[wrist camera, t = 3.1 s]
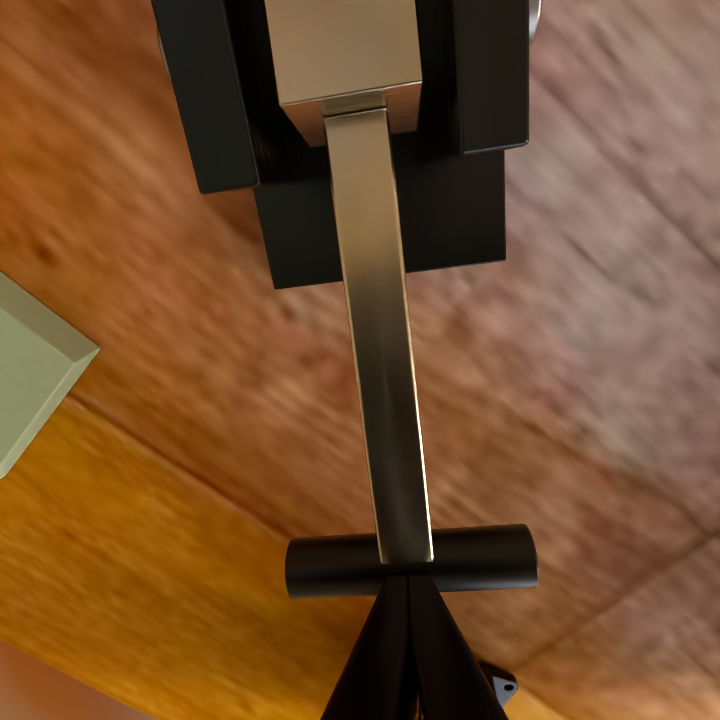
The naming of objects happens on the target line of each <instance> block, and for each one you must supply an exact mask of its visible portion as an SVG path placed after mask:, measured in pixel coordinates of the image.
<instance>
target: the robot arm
mask: <svg viewBox="0 0 720 720" xmlns="http://www.w3.org/2000/svg"><path fill="white" fill-rule="evenodd" d="M517 689H518V685H517V681H516V677H515V676H514V675H512V674H509V673H506V672H503V671H499V670H496V669H493V668H490V667H487V666H483V665H480V664H478V663H477V661H476V659H475V657H474V655H473V653H472V652H471V650H470V648H469V646H468V644H467V642H466V641H465V639H464V637H463V635H462V633H461V631H460V630H459V628H458V626H457V624H456V622H455V620H454V619H453V617H452V615H451V613H450V611H449V609H448V608H447V606H446V604H445V602H444V600H443V598H442V597H441V595H440V593H439V591H438V589H437V587H436V586H435V584H434V582H433V580H432V578H431V577H430V575H429V574H426V573H424V574H411V575H409V577H407V576H406V575H389V576H387V577H386V579H385V581H384V583H383V585H382V587H381V589H380V592H379V594H378V596H377V598H376V600H375V602H374V605H373V607H372V609H371V611H370V613H369V615H368V618H367V620H366V622H365V624H364V626H363V628H362V630H361V633H360V635H359V637H358V639H357V641H356V643H355V646H354V648H353V650H352V652H351V654H350V656H349V659H348V661H347V663H346V665H345V667H344V669H343V671H342V674H341V676H340V678H339V680H338V682H337V684H336V687H335V689H334V691H333V693H332V695H331V697H330V700H329V702H328V704H327V706H326V708H325V710H324V712H323V715H322V717H321V719H320V720H509V719H508V717H507V716H506V714H505V712H504V710H503V707H504V705H505V704H506V703H507V702H508V700H509V699H510V698H511V697H512V696H513V694H514V693H515V692H516V691H517Z"/></svg>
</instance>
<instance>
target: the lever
mask: <svg viewBox="0 0 720 720" xmlns="http://www.w3.org/2000/svg"><path fill="white" fill-rule="evenodd" d="M263 6H264V12H265V19H266V26H267V33H268V40H269V47H270V54H271V60H272V67H273V74H274V81H275V88H276V95H277V102H278V106H279V107H280V109H281V110H282V111H283V113H284V114H285V115H286V117H287V118H288V119H289V121H290V122H291V123H292V125H293V126H294V127H295V129H296V130H297V131H298V133H299V134H300V135H301V137H302V138H303V139H304V141H305V142H306V143H307V145H308V146H309V147H317V146H324V145H326V152H327V159H328V167H329V175H330V183H331V190H332V198H333V206H334V214H335V221H336V229H337V237H338V244H339V252H340V260H341V268H342V275H343V283H344V291H345V299H346V306H347V314H348V322H349V330H350V337H351V345H352V353H353V361H354V368H355V376H356V384H357V392H358V399H359V407H360V415H361V422H362V430H363V438H364V446H365V453H366V461H367V469H368V477H369V484H370V492H371V500H372V508H373V515H374V523H375V531H376V533H364V534H348V535H332V536H316V537H300V538H293V539H292V540H291V541H290V542H289V545H288V548H287V553H286V559H285V580H286V587H287V591H288V594H289V596H290V598H292V599H309V598H330V597H351V596H373V595H378V594H379V592H380V589H381V587H382V585H383V583H384V581H385V579H386V577H387V576H389V575H406V576H407V577H409V575H411V574H424V573H426V574H429V575H430V577H431V578H432V580H433V582H434V584H435V586H436V587H437V589H438V591H439V592H458V591H479V590H500V589H521V588H536V587H537V586H538V584H539V565H538V558H537V553H536V548H535V544H534V541H533V538H532V535H531V532H530V530H529V528H528V527H527V525H525V524H508V525H492V526H476V527H460V528H444V529H432V527H431V517H430V508H429V498H428V488H427V479H426V469H425V459H424V450H423V440H422V430H421V421H420V411H419V401H418V391H417V382H416V372H415V362H414V353H413V343H412V333H411V324H410V314H409V304H408V295H407V285H406V275H405V265H404V256H403V246H402V236H401V227H400V217H399V207H398V198H397V188H396V178H395V169H394V159H393V149H392V140H391V135H393V134H399V133H405V132H411V131H416V130H417V129H418V123H419V115H420V107H421V99H422V91H423V83H424V74H423V62H422V51H421V40H420V29H419V17H418V6H417V0H263Z"/></svg>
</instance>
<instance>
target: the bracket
mask: <svg viewBox="0 0 720 720" xmlns="http://www.w3.org/2000/svg"><path fill="white" fill-rule="evenodd" d="M151 3H152V7H153V11H154V15H155V19H156V23H157V37H158V43H159V48H160V52H161V56H162V59H163V63H164V66H165V68H166V71H167V74H168V76H169V78H170V80H171V83H172V85H173V89H174V93H175V97H176V101H177V105H178V109H179V113H180V117H181V121H182V125H183V128H184V132H185V136H186V140H187V144H188V148H189V152H190V156H191V160H192V164H193V168H194V171H195V175H196V179H197V183H198V187H199V191H200V193H201V194H204V195H206V194H215V193H224V192H233V191H242V190H251V189H253V191H254V196H255V201H256V206H257V210H258V215H259V220H260V224H261V229H262V234H263V238H264V243H265V248H266V252H267V257H268V262H269V266H270V271H271V276H272V281H273V285H274V289H284V288H292V287H300V286H308V285H316V284H324V283H332V282H340V281H343V275H342V268H341V260H340V252H339V244H338V237H337V229H336V221H335V214H334V206H333V198H332V190H331V183H330V175H329V167H328V159H327V152H326V145H324V146H317V147H309V146H308V145H307V143H306V142H305V141H304V139H303V138H302V137H301V135H300V134H299V133H298V131H297V130H296V129H295V127H294V126H293V125H292V123H291V122H290V121H289V119H288V118H287V117H286V115H285V114H284V113H283V111H282V110H281V109H280V107H279V106H278V102H277V95H276V88H275V81H274V74H273V67H272V60H271V54H270V47H269V40H268V33H267V26H266V19H265V12H264V6H263V0H151ZM417 6H418V17H419V29H420V40H421V51H422V62H423V74H424V83H423V91H422V99H421V107H420V115H419V123H418V129H417V130H416V131H411V132H405V133H399V134H393V135H391V140H392V149H393V159H394V169H395V178H396V188H397V198H398V207H399V217H400V227H401V236H402V246H403V256H404V265H405V273H412V272H420V271H428V270H436V269H444V268H452V267H460V266H468V265H476V264H484V263H492V262H500V261H505V260H506V223H505V163H504V150H508V149H513V148H518V147H523V146H525V145H527V144H528V141H529V47H530V46H531V45H532V43H533V41H534V38H535V36H536V32H537V29H538V25H539V20H540V15H541V8H542V0H417Z"/></svg>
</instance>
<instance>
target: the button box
mask: <svg viewBox="0 0 720 720" xmlns="http://www.w3.org/2000/svg"><path fill="white" fill-rule="evenodd" d="M99 350H100V347H99V346H98V345H96V344H95V343H94V342H92V341H91V340H90V339H88V338H87V337H86V336H84V335H83V334H82V333H81V332H79V331H78V330H77V329H75V328H74V327H73V326H71V325H70V324H69V323H67V322H66V321H65V320H64V319H62V318H61V317H60V316H58V315H57V314H56V313H54V312H53V311H52V310H50V309H49V308H48V307H47V306H45V305H44V304H43V303H41V302H40V301H39V300H37V299H36V298H35V297H33V296H32V295H31V294H29V293H28V292H27V291H26V290H24V289H23V288H22V287H20V286H19V285H18V284H16V283H15V282H14V281H12V280H11V279H10V278H9V277H7V276H6V275H5V274H3V273H2V272H1V271H0V479H2V478H3V477H4V476H5V475H7V473H8V472H9V471H10V469H11V468H12V467H13V465H14V464H15V463H16V461H17V460H18V459H19V457H20V456H21V455H22V453H23V452H24V451H25V449H26V448H27V447H28V445H29V444H30V443H31V441H32V440H33V439H34V437H35V436H36V435H37V433H38V432H39V431H40V429H41V428H42V427H43V425H44V424H45V422H46V421H47V420H48V418H49V417H50V416H51V414H52V413H53V412H54V410H55V409H56V408H57V406H58V405H59V404H60V402H61V401H62V400H63V398H64V397H65V396H66V394H67V393H68V392H69V390H70V389H71V388H72V386H73V385H74V384H75V382H76V381H77V380H78V378H79V377H80V376H81V374H82V373H83V372H84V370H85V369H86V368H87V366H88V365H89V364H90V362H91V361H92V360H93V358H94V357H95V356H96V354H97V353H98V351H99Z"/></svg>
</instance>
